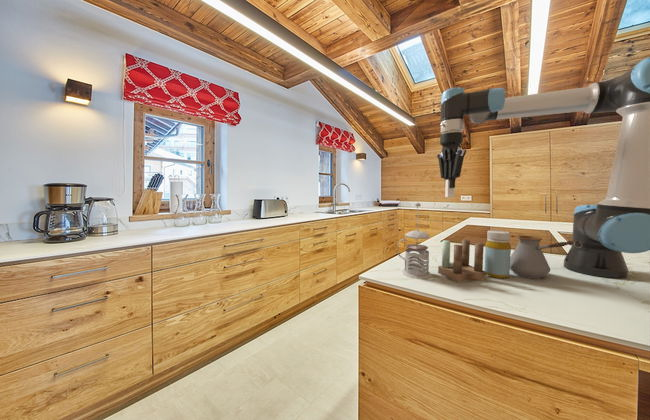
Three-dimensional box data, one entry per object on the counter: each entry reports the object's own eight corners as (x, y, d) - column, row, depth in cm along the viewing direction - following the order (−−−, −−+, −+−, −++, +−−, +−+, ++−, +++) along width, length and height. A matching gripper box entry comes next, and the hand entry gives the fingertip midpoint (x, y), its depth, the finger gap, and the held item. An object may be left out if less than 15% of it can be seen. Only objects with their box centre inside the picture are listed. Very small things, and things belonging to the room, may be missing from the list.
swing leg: (458, 264, 87) (458, 239, 86) (463, 266, 85) (464, 240, 84) (440, 265, 85) (440, 240, 85) (445, 267, 83) (445, 242, 82)
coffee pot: (498, 269, 89) (500, 228, 88) (528, 268, 89) (530, 227, 88) (556, 294, 68) (559, 241, 66) (595, 293, 68) (600, 240, 67)
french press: (433, 280, 80) (435, 203, 77) (396, 276, 83) (396, 203, 81) (430, 270, 89) (431, 201, 87) (397, 267, 93) (397, 201, 90)
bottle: (500, 271, 86) (503, 229, 85) (514, 279, 79) (516, 233, 78) (480, 271, 87) (481, 229, 86) (491, 278, 80) (493, 233, 79)
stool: (465, 270, 88) (466, 239, 87) (486, 279, 79) (487, 244, 78) (438, 272, 86) (438, 240, 85) (456, 282, 77) (457, 246, 76)
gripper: (431, 136, 97) (430, 196, 99) (454, 128, 84) (452, 197, 86) (448, 137, 98) (446, 196, 100) (473, 129, 85) (471, 197, 87)
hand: (449, 196), depth 93 cm, fingers closed
